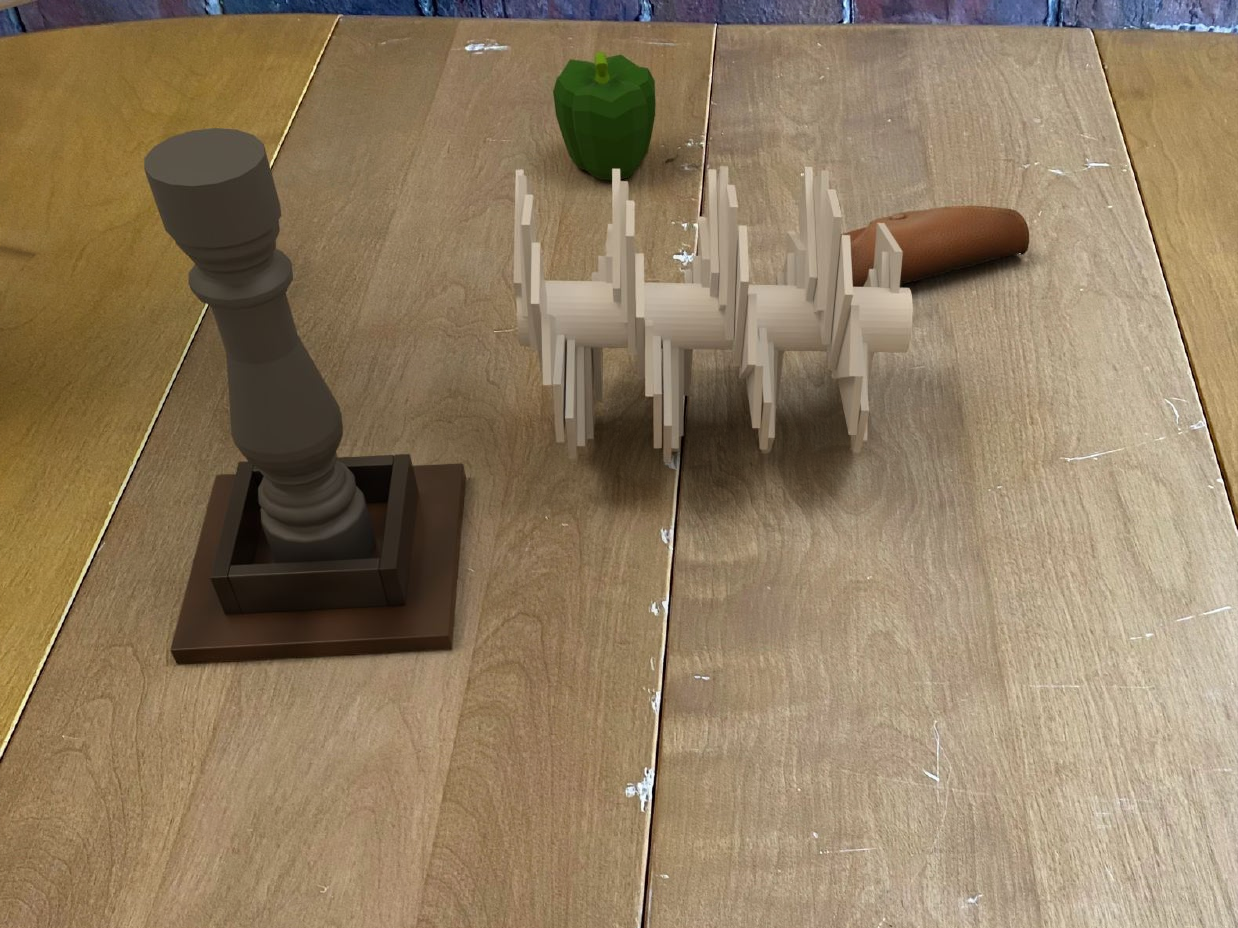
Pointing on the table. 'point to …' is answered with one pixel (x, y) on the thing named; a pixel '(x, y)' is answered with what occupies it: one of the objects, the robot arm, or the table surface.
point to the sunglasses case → (941, 240)
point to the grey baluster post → (261, 341)
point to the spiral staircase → (710, 312)
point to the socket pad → (327, 573)
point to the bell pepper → (605, 113)
